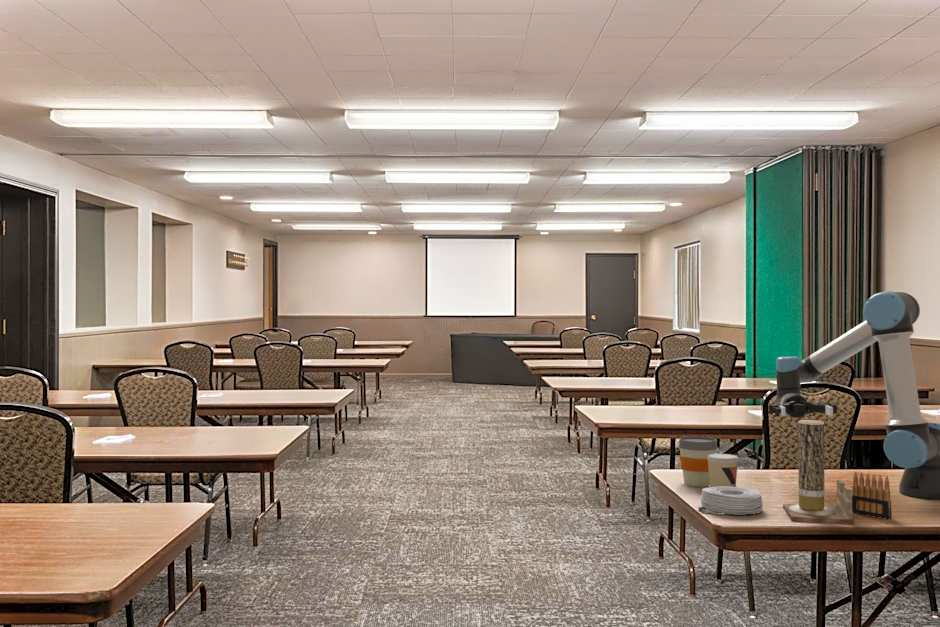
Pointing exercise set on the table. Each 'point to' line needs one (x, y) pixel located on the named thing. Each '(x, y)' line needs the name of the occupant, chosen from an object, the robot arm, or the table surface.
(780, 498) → the table surface
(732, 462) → the coffee cup
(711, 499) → the cable
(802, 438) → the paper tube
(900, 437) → the robot arm
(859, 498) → the ammunition clip
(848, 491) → the base
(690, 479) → the reusable coffee cup
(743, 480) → the table surface
